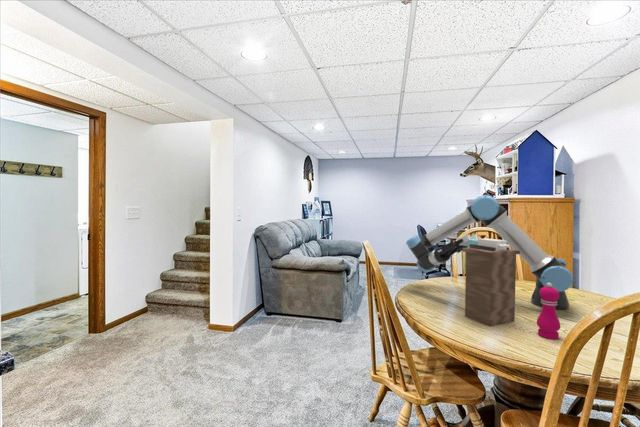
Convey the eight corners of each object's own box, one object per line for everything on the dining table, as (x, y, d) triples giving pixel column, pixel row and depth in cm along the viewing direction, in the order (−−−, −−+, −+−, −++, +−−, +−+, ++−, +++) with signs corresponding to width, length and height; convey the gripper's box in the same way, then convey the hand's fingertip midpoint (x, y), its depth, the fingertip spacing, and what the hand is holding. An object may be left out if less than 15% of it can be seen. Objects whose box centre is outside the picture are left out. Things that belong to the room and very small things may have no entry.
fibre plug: (465, 244, 151) (465, 235, 151) (510, 250, 130) (511, 241, 130) (456, 244, 149) (456, 236, 149) (500, 251, 127) (500, 241, 127)
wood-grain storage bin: (489, 311, 146) (490, 243, 145) (518, 321, 133) (520, 246, 132) (461, 316, 139) (462, 244, 138) (489, 327, 126) (491, 248, 125)
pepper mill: (534, 336, 118) (536, 282, 118) (538, 330, 124) (539, 279, 123) (558, 341, 113) (560, 286, 113) (561, 335, 119) (562, 282, 118)
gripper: (455, 261, 164) (489, 243, 145) (429, 263, 158) (461, 245, 139) (449, 248, 167) (482, 229, 148) (424, 249, 161) (455, 230, 142)
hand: (472, 237), depth 144 cm, fingers closed on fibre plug, 4 cm apart
